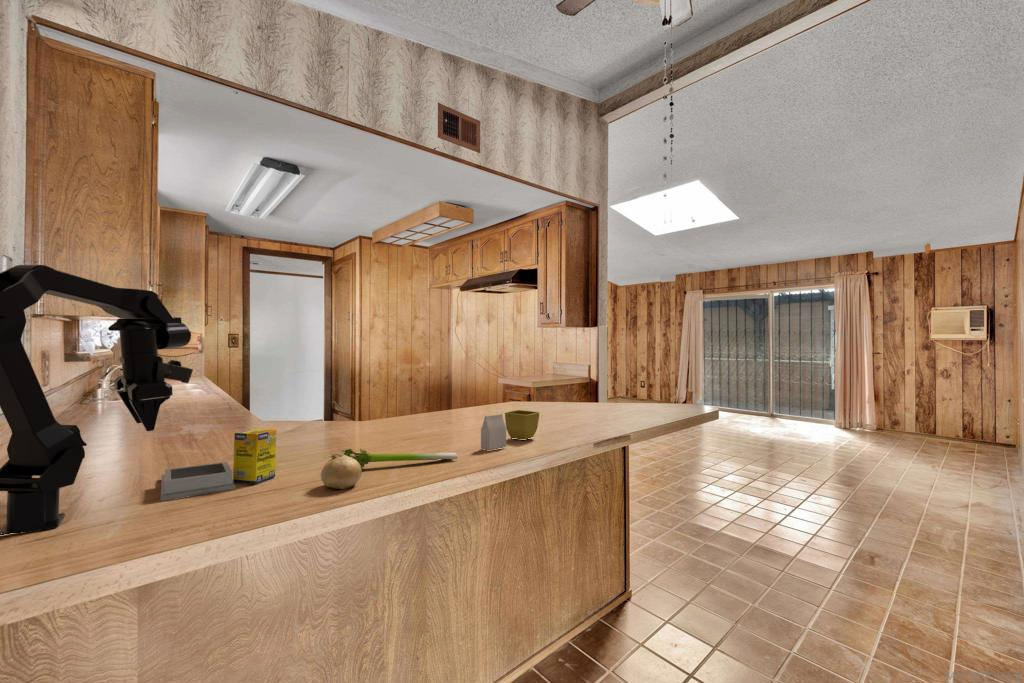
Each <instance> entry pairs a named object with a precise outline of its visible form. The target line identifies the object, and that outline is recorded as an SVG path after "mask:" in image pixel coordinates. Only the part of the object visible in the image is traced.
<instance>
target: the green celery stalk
mask: <svg viewBox="0 0 1024 683" xmlns="http://www.w3.org/2000/svg"><path fill="white" fill-rule="evenodd" d="M337 450H338V451H340V452H341V453H343V454H344V455H346V456H349V457H351V458H353V459H355V460H356V461H357V462H358V463H359V464H360V466H361V470H362V471H363V470H364V468H365V465H368V464H369V463H377V462H379V463H380V462H383V463H384V462H402V461H403V462H405V461H406V462H407V461H439V460H438V459H447V460H458V458H459V457H458V455H457V453H456V452H437V453H436V452H435V453H433V452H432V453H429V452H428V453H369V452H367V451H366V450H365V449H362V448H359V452H355V451H354V450H353V449H352V448H348V449H345V450H343V449H339V448H338V449H337Z"/></svg>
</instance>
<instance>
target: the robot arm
mask: <svg viewBox="0 0 1024 683" xmlns="http://www.w3.org/2000/svg"><path fill="white" fill-rule="evenodd" d="M44 295H50V296H53V297H58V298H63V299H66V300H71V301H76V302H80V303H83V304H87V305H91V306H96V307H98V308H100V309H102V310H103V311H104V313H106V314H109V315H111V316H114V317H116V318H117V319H116V321H115V322H113V323H112V324H111V325H110V326H108V328H107V330H109V331H111V332H118V331H119V343H120V353H121V354H120V357H119V358H118V359H119V363H120V364H121V367H122V368H121V369H122V374H121V375H118V376H117V377H116V378H115V379H113V384H114V385H113V386H114V389H115V390H116V393H117V395H118V397H119V398H120V399H121V401H122V402H123V404H124V406H125V407H126V408H127V410H128V412H129V413H130V415H131V416H132V418H133V420H134V421H135V423H136V424H142V425H143V427H144V429H145V430H146V432H151V431H154V430H155V428H156V427H155V426H156V424H157V420H158V416H159V412H160V408H161V406H162V404H163V403H164V402H166V401H167V400H170V398H171V396H173V386H172V384H170V383H168V382H167V381H166V380H172V381H177V382H178V381H179V382H181V383H183V384H189V382H190V380H191V376H192V374H193V371H194V369H193V368H190V367H186V366H182V362H181V361H179V360H176V359H169V361H168V362H167V363H166V362H164V360H163V357H161V356H160V355H159V352H158V350H168V349H175V348H176V349H177V348H182V347H183V348H184V347H186V346H187V345H188V344H189V343H190V341H191V339H192V333H191V331H190V329H189V327H188V326H187V325H186V324H185V323H183V322H182V318H181V317H178V316H177V317H173V316H172V315H171V313H170V312H169V311H168V308H167V307H166V306H165V305H164V303H163V302H162V300H161V299H160V297H159V294H157V292H155V291H154V290H153V291H152V290H148V289H140V288H126V287H115V286H112V285H109V284H107V283H106V284H105V283H102V282H98V281H95V280H92V279H88V278H85V277H81V276H77V275H74V274H71V273H67V272H64V271H61V270H57V269H54V268H53V267H51V266H48V265H45V264H17V265H14V266H13V267H9V268H8V269H6V270H3V271H1V272H0V410H1V411H2V414H3V416H4V418H5V420H6V422H7V425H8V426H9V428H10V430H11V434H10V438H9V441H8V444H7V447H6V452H7V455H8V460H7V461H6V462H5V463H4V464H3V465H2V466H1V467H0V492H7V494H6V495H7V496H6V518H5V520H6V521H5V522H6V523H5V525H4V526H3V527H2V528H1V529H0V535H4V534H10V533H20V534H22V533H21V532H26V533H31V532H30V531H32V532H36V531H37V532H38V531H42V530H43V531H45V530H49V529H54V528H58V527H59V526H60V525H61V523H62V521H64V518H65V517H66V513H65V512H61V513H60V490H61V489H62V488H65V487H69V486H72V485H74V483H75V481H76V478H77V475H78V473H79V470H80V468H81V465H82V463H83V460H84V459H85V457H86V451H85V447H86V446H88V444H87V443H86V442H85V441H84V440H83V438H82V435H81V431H80V430H81V429H80V428H79V427H78V425H76V424H61V423H59V422H58V421H57V420H56V418H55V416H54V413H53V412H52V409H51V407H50V405H49V402H48V400H47V397H46V396H45V393H44V391H43V388H42V386H41V384H40V382H39V379H38V377H37V374H36V373H35V370H34V367H33V365H32V363H31V361H30V358H29V356H28V353H27V352H26V350H25V347H24V345H23V344H24V343H23V342H22V336H23V334H24V331H25V327H26V325H27V319H26V317H27V316H26V312H25V310H26V309H27V308H30V307H31V306H33V305H35V304H37V303H38V302H39V301H40V300H41V298H42V297H43V296H44ZM165 379H166V380H165ZM35 476H36V477H35ZM1 533H2V534H1Z"/></svg>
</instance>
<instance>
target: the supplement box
mask: <svg viewBox="0 0 1024 683" xmlns="http://www.w3.org/2000/svg"><path fill="white" fill-rule="evenodd" d="M233 437H234V440H233V442H234V443H233V471H232V472H233V473H232V479H233V481H234V483H235V484H241V483H245V484H244V485H253V484H256V485H258V484H260V482H261V483H263V482H266V481H269V480H272V479H275V478H276V464H277V463H276V460H277V458H276V457H277V455H276V454H277V429H274V428H273V429H272V428H253V429H248V430H243V431H237V432H234V436H233ZM274 477H275V478H274ZM271 478H272V479H271Z"/></svg>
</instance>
